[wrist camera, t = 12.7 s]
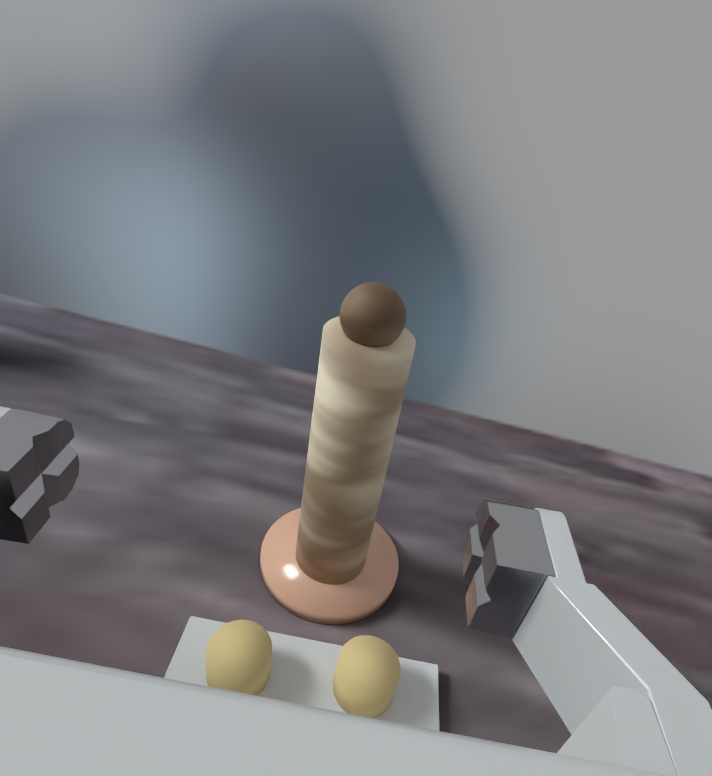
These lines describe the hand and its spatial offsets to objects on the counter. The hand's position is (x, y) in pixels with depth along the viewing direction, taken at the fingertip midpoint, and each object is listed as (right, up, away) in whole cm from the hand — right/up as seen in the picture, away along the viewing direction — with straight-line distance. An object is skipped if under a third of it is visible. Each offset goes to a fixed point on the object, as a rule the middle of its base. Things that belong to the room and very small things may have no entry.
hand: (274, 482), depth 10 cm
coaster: (0, -10, +24) cm, 26 cm away
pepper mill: (0, -9, +24) cm, 25 cm away
